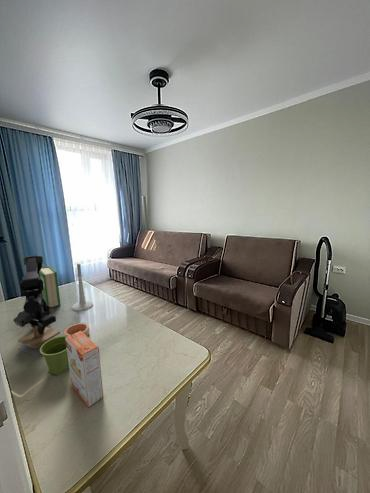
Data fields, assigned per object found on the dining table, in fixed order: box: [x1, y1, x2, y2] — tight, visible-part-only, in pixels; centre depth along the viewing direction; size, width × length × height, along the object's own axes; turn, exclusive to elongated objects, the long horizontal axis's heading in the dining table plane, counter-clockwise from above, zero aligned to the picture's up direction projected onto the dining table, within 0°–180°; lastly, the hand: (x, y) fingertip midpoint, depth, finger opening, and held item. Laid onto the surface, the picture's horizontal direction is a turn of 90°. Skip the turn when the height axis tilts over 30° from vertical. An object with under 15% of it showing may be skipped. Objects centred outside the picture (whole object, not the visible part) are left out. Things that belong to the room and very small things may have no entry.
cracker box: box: [65, 331, 104, 409], centre depth 74 cm, size 14×6×21 cm, turn 49°
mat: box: [17, 336, 56, 357], centre depth 101 cm, size 13×13×1 cm
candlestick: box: [71, 263, 94, 312], centre depth 136 cm, size 13×13×30 cm
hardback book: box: [40, 265, 61, 308], centre depth 141 cm, size 18×7×24 cm, turn 45°
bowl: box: [63, 322, 90, 337], centre depth 107 cm, size 11×11×4 cm
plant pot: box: [40, 335, 69, 376], centre depth 86 cm, size 12×12×11 cm
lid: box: [17, 326, 61, 348], centre depth 100 cm, size 12×12×6 cm
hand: (39, 333), depth 100 cm, fingers closed on lid, 3 cm apart
